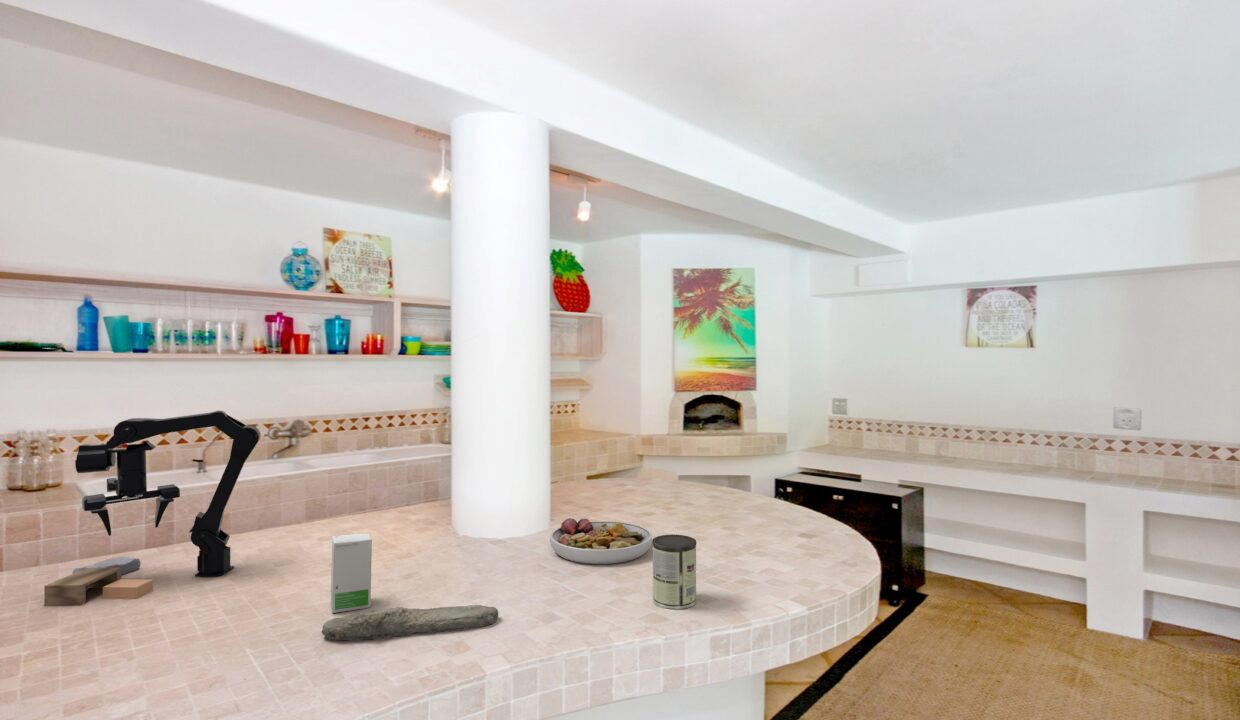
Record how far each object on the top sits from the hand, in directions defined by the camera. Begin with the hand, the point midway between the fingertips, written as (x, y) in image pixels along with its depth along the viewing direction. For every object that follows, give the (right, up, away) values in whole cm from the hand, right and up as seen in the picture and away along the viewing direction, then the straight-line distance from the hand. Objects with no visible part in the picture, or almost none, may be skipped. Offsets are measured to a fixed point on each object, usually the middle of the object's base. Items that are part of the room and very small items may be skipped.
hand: (133, 531), depth 154 cm
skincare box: (+61, -13, -14) cm, 64 cm away
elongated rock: (+79, -14, -25) cm, 84 cm away
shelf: (-5, -13, -8) cm, 16 cm away
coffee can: (+135, -14, -11) cm, 136 cm away
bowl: (+116, -14, +27) cm, 120 cm away
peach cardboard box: (+5, -13, -7) cm, 16 cm away
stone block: (-12, -14, +6) cm, 19 cm away
